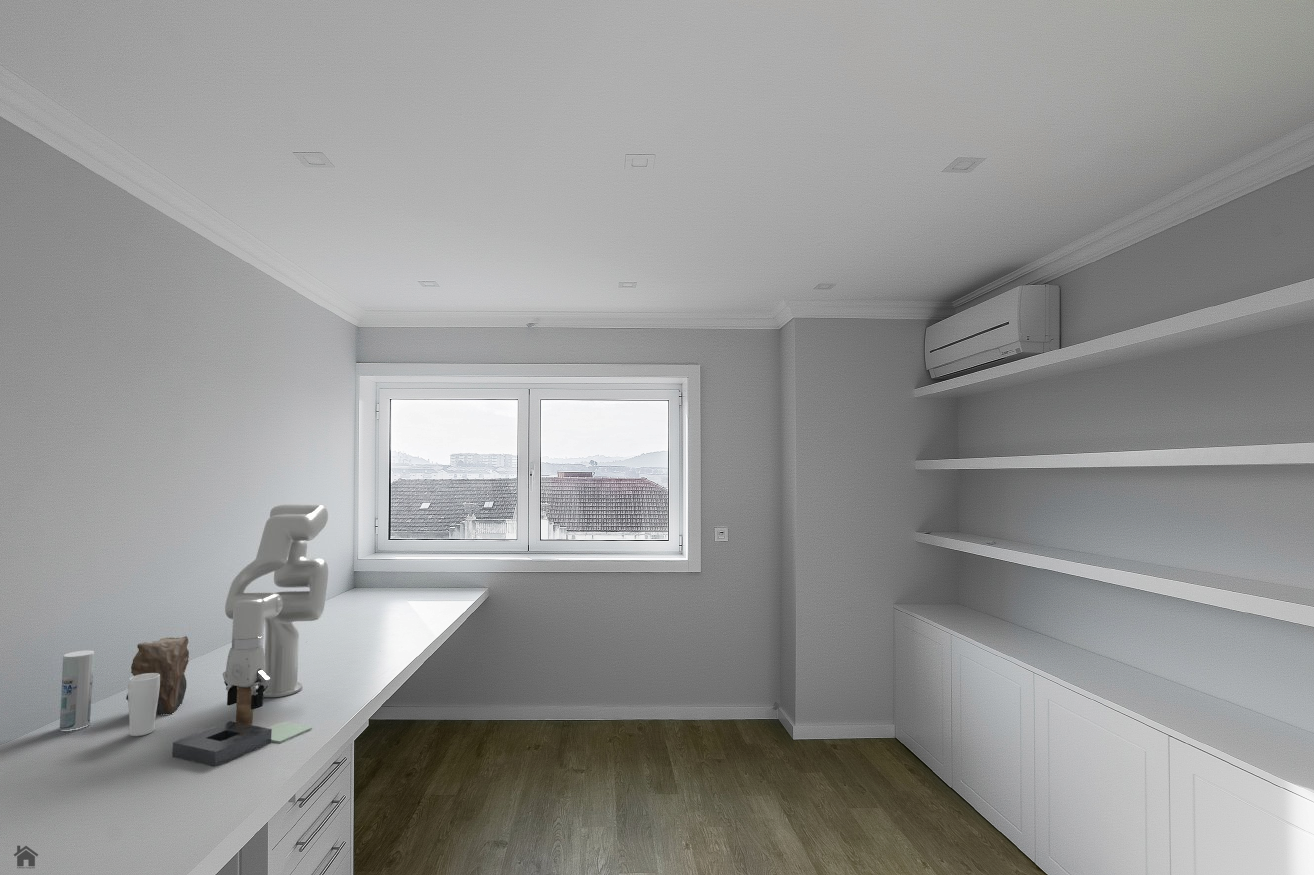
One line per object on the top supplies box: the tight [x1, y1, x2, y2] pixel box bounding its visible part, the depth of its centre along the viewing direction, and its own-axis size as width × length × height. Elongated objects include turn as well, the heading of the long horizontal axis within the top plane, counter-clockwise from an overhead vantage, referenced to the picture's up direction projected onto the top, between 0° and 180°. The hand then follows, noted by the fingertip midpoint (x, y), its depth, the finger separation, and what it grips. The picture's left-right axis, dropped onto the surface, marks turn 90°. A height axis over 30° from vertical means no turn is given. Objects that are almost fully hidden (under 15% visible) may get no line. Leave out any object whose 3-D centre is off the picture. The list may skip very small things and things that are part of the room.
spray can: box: [59, 650, 95, 731], centre depth 179 cm, size 6×6×20 cm
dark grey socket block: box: [171, 720, 272, 768], centre depth 166 cm, size 15×15×4 cm
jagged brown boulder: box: [125, 635, 190, 716], centre depth 194 cm, size 13×13×20 cm
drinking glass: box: [127, 673, 160, 737], centre depth 176 cm, size 7×7×15 cm
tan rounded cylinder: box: [235, 686, 254, 725], centre depth 182 cm, size 4×4×12 cm
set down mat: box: [267, 721, 313, 744], centre depth 176 cm, size 11×10×1 cm
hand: (244, 705), depth 182 cm, fingers open, 8 cm apart
